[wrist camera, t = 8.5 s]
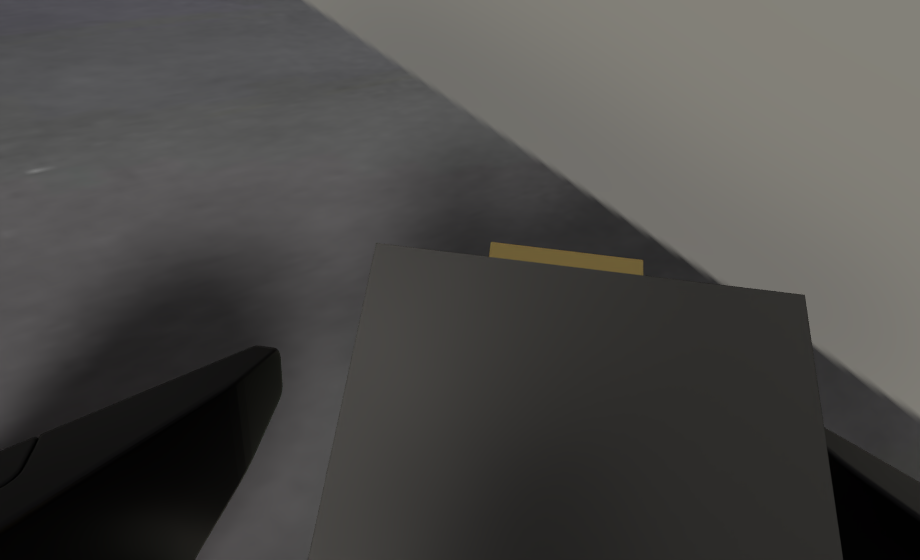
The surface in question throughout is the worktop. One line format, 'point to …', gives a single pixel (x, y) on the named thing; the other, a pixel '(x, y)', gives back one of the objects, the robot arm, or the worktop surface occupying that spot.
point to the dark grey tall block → (574, 416)
